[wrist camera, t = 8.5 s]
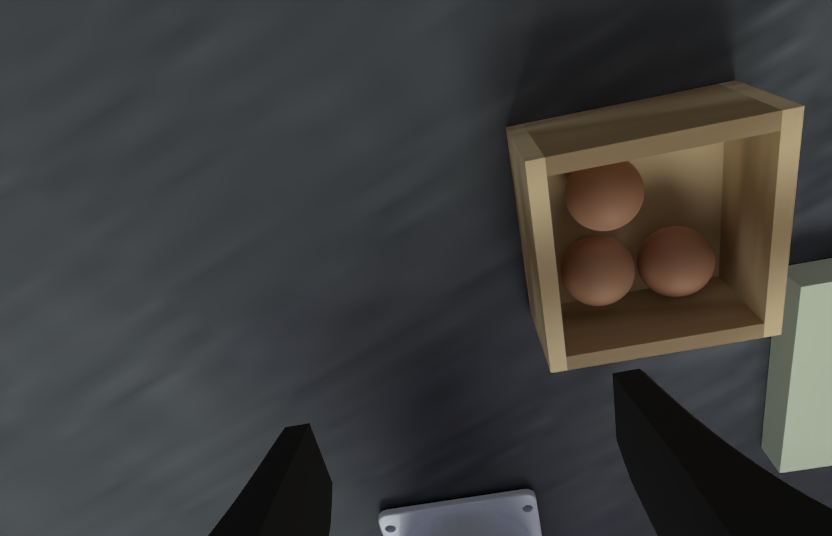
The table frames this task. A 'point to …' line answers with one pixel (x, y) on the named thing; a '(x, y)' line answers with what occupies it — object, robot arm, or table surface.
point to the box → (657, 222)
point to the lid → (801, 373)
